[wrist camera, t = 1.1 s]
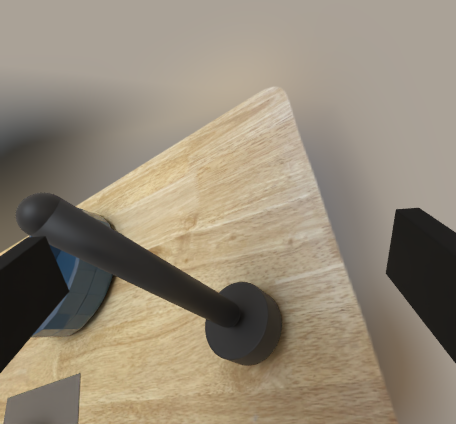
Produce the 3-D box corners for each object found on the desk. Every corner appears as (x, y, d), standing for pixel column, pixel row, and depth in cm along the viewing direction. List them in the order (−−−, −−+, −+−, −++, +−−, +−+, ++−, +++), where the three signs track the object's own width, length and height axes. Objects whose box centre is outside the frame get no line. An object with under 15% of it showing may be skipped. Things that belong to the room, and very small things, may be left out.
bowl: (127, 205, 40) (93, 191, 36) (108, 336, 33) (63, 337, 29) (62, 228, 49) (29, 219, 45) (37, 335, 42) (-6, 336, 38)
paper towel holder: (282, 288, 23) (90, 128, 12) (281, 367, 20) (5, 255, 8) (226, 294, 27) (29, 173, 15) (216, 363, 23) (-51, 278, 11)
